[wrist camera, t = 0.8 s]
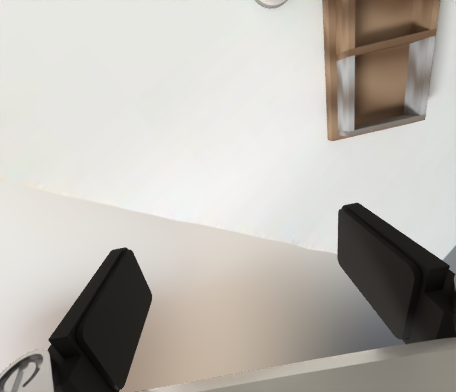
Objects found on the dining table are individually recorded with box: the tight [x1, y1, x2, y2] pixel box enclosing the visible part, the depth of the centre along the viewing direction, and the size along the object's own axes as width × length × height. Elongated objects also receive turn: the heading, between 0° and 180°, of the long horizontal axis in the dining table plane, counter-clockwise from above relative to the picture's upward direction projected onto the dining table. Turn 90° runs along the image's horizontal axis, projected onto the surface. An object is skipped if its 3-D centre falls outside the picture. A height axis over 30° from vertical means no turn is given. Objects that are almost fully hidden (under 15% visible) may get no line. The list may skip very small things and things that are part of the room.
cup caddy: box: [323, 0, 440, 141], centre depth 29 cm, size 23×13×4 cm, turn 12°
